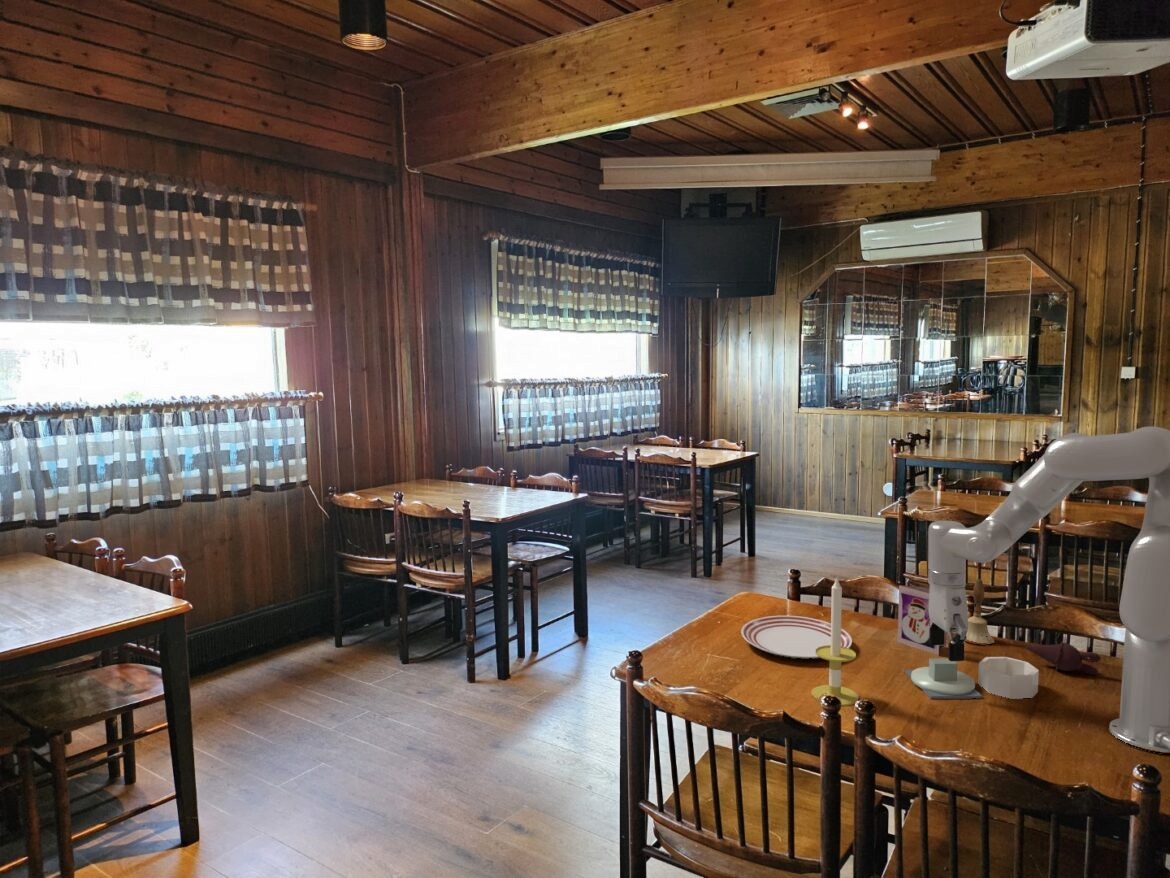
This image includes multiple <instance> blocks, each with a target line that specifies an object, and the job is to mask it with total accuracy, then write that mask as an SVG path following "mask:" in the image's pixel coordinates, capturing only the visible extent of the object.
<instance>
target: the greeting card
mask: <svg viewBox="0 0 1170 878" xmlns="http://www.w3.org/2000/svg"><path fill="white" fill-rule="evenodd" d="M929 589H930V587H923V586H922V587H921V586H920V587H919V586H911V585H910V586H909V585H898V611H897V612H898V613H897V614H898V615H897V617H898V618H897V643H900V644H902V643H903V645H905V644H906V645H905V646H909V647H911V648H914V647H915V648H914V649H916V648H918V649H917V650H919V649H921V650H920V651H922V650H924V651H923V652H925V651H927V652H926V653H928V652H931V653H934V654H937V655H940V654H939V653H940V652H939V651H940V647H939V646H946V647H947V640H948V639H947V635H948V632H946V631H944V645H930V643H929V628H932V627H929V621H930V620H929V617H928V614H929V611H928V604H929ZM931 653H930V654H931ZM934 654H933V655H934ZM937 655H936V656H937Z"/></svg>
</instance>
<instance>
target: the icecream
mask: <svg viewBox="0 0 1170 878" xmlns="http://www.w3.org/2000/svg"><path fill="white" fill-rule="evenodd" d="M1025 649H1026V650H1028V651H1029V652H1031V653H1033V654H1034V655H1037V656H1039V657H1040V658H1042V659H1043V660H1045V661H1047V662H1048V663H1051V664H1052V665H1054V666H1055V671H1058V670H1060V671H1064V672H1072V671H1075V670H1079V671H1081V672H1082V673H1085V674H1086V673H1087V675H1089V674H1092V675H1091V676H1097V675H1099V674H1098V673H1099V671H1098V669H1097V668H1096V667H1094V666H1093V665H1090V664H1087V663H1098V662H1100V661H1101V660H1102V657H1101V656H1100V655H1099V654H1098V653H1095V652H1092V651H1089V652H1080V650H1078V649H1077V648H1076V647H1075V646H1073V645H1072V644H1070V643H1068V642H1064V641H1063V640H1061V642H1060V643H1059V644H1041V645H1039V644H1037V645H1025ZM1083 661H1085V662H1087V663H1084V662H1083Z"/></svg>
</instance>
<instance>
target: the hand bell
mask: <svg viewBox="0 0 1170 878" xmlns="http://www.w3.org/2000/svg"><path fill="white" fill-rule="evenodd" d="M972 589H973V590H972V596H973V601H974V605H975V604H976V607H975V606H974V609H973V610H974V611H973V616H971V617H968V631H967V634H966V637H967V638H966V639H967V640H969V641H973V642H977V643H987V644H991V643H995V640H994V638H993V637H992V635H991V634H990V632H989V629H988V621H987V620H986V619H985V618H983V617H982V602H983V601H984V597H985V585H984V584H983V579H979V578H978V579H976V581H975V584H974V586H973V588H972ZM981 635H982V636H981ZM986 636H988V637H986ZM992 638H993V639H992Z"/></svg>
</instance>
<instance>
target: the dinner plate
mask: <svg viewBox="0 0 1170 878" xmlns="http://www.w3.org/2000/svg"><path fill="white" fill-rule="evenodd" d="M740 632H741V636H742V637H743V638H744V640H745V641H746V642H747V643H749V644H750V645H752V646H753V647H755V648H757V649H759V650H761V651H764V652H765V653H768V654H771V655H772V654H773V655H775V656H778V655H779V656H778V657H782V656H784V658H788V657H791V658H790V659H796V658H801V659H800V660H806V659H807V660H809V658H812V659H819V658H820V657H818V656H817V655H816V649H817V648H818V647H821V646H828V645H831V622H828V621H824V620H821V619H816V618H812V617H806V616H801V615H799V616H797V615H785V614H784V615H770V616H764V617H763V616H762V617H759V618H755V619H753V620H750V621H748V622H747V623H745V624H744V625H743V626H742V627H741V629H740ZM852 644H853V639H852V637H851V635H850V633H848V632H847V631H846V630H845V629H843V628H842V627H841V647H846V648H849V649H851V647H852ZM820 659H821V658H820Z"/></svg>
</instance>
